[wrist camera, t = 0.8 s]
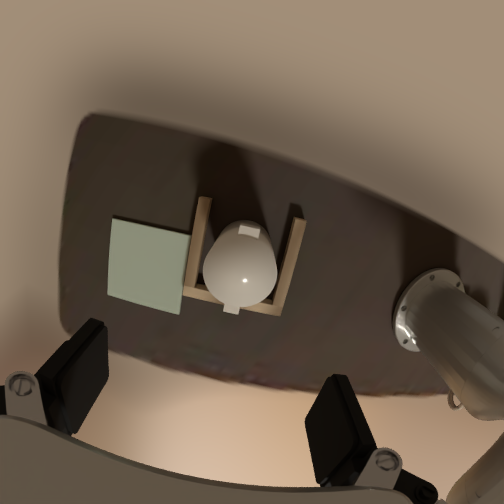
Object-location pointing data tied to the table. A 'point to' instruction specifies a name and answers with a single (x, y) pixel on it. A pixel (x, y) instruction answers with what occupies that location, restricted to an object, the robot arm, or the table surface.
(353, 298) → the table surface
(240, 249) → the labeled white canister
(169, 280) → the sage tile
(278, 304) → the oak stall
